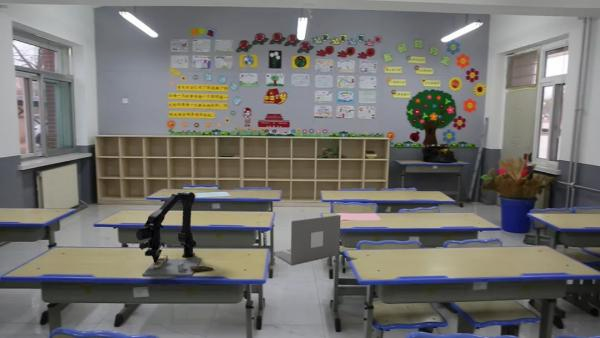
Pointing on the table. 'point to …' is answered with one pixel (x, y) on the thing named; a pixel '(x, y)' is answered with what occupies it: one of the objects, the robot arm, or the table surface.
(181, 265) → the keeper
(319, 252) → the laptop
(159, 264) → the link
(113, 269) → the table surface
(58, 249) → the table surface
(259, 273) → the table surface
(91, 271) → the table surface
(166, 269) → the pivot board
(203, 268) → the stone
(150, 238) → the robot arm
